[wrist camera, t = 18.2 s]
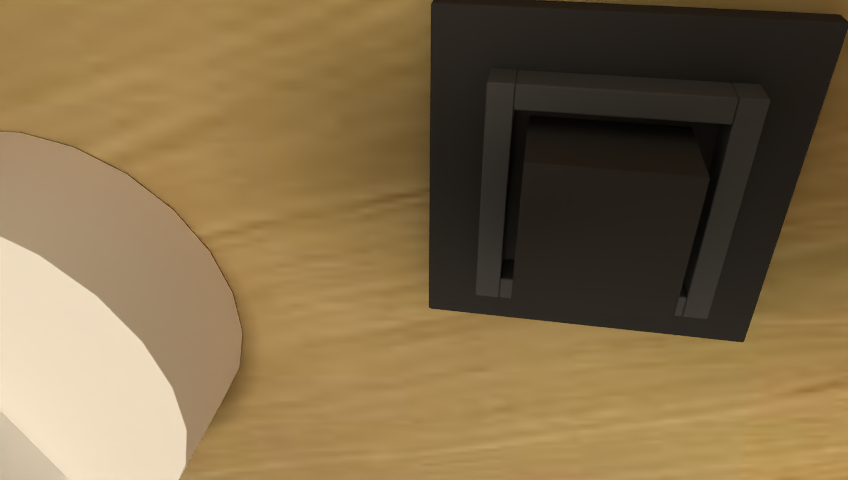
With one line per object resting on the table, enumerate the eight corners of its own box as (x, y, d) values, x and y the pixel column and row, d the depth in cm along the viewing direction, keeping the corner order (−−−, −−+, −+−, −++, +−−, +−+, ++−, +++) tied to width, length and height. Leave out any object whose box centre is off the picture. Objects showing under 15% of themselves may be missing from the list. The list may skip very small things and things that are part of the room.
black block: (692, 126, 26) (711, 177, 23) (661, 259, 30) (673, 321, 26) (529, 114, 27) (524, 162, 24) (516, 245, 30) (510, 303, 27)
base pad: (841, 14, 24) (866, 36, 22) (739, 328, 32) (751, 366, 30) (434, -6, 26) (424, 14, 24) (431, 295, 34) (423, 329, 32)
